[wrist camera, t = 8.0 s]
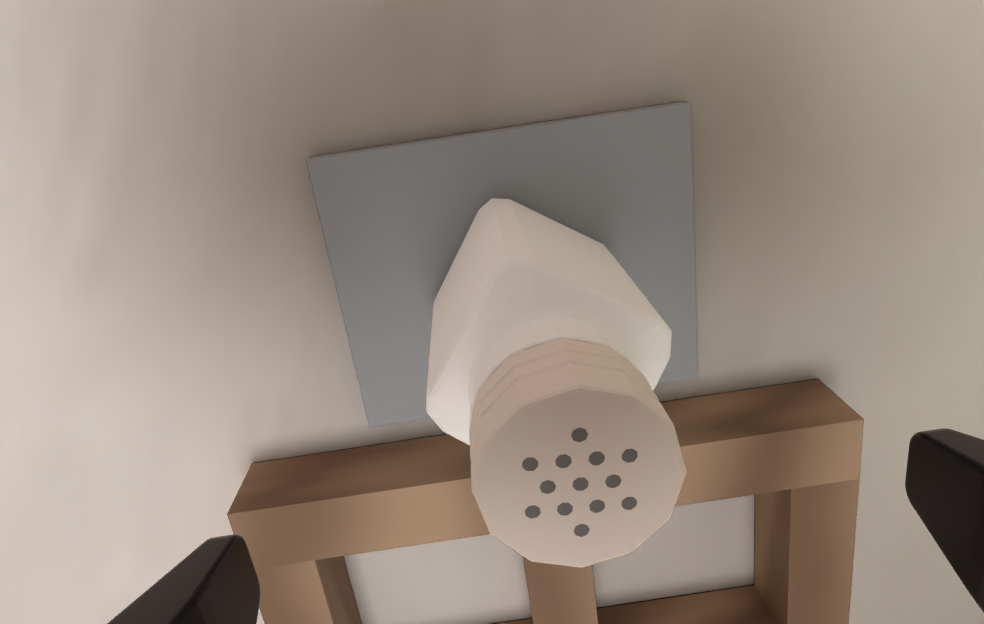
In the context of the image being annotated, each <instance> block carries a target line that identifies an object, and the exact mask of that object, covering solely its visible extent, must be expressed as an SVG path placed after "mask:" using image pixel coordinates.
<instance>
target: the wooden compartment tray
mask: <svg viewBox="0 0 984 624" xmlns="http://www.w3.org/2000/svg"><path fill="white" fill-rule="evenodd" d="M661 404H662V406H663V408H664V410H665V411H666V413H667V415H668V416H669V418H670V420H671V421H672V423H673V425H674V427H675V431H676V434H677V438H678V442H679V445H680V449H681V452H682V456H683V460H684V463H685V467H686V471H687V472H686V475H685V478H684V481H683V484H682V487H681V490H680V493H679V495H678V498H677V501H676V504H675V506H681V505H687V504H694V503H701V502H707V501H714V500H721V499H727V498H734V497H741V496H748V495H754V494H755V548H754V585H752V586H745V587H738V588H732V589H725V590H718V591H712V592H705V593H698V594H692V595H685V596H678V597H672V598H665V599H658V600H651V601H645V602H638V603H631V604H625V605H618V606H611V607H605V608H598V609H596V599H595V590H594V581H593V571H592V565H589V566H586V567H583V568H580V567H572V566H564V565H555V564H547V563H539V562H531V561H530V560H528V559H527V558H525V557H524V556H523V560H524V566H525V573H526V579H527V586H528V592H529V599H530V605H531V612H532V618H531V619H524V620H518V621H511V622H504V623H498V624H849V611H850V598H851V584H852V571H853V557H854V544H855V530H856V517H857V504H858V490H859V477H860V463H861V450H862V436H863V423H864V419H863V418H862V417H861V416H859V415H858V414H857V413H856V412H855V411H854V410H853V409H852V408H850V407H849V406H848V405H847V404H846V403H845V402H844V401H843V400H841V399H840V398H839V397H838V396H837V395H836V394H835V393H834V392H833V391H831V390H830V389H829V388H828V387H827V386H826V385H825V384H824V383H822V382H821V381H820V380H819V379H815V380H808V381H801V382H794V383H788V384H781V385H774V386H768V387H761V388H754V389H748V390H741V391H734V392H728V393H721V394H714V395H707V396H701V397H694V398H687V399H681V400H674V401H667V402H661ZM227 516H228V519H229V521H230V524H231V527H232V530H233V533H234V534H237V535H240V536H242V537H243V539H244V540H245V542H246V544H247V547H248V550H249V553H250V556H251V559H252V562H253V565H254V568H255V571H256V574H257V577H258V580H259V584H260V604H259V608H260V611H261V614H262V617H263V620H264V623H265V624H362V623H361V619H360V615H359V612H358V608H357V605H356V601H355V597H354V594H353V590H352V586H351V583H350V579H349V576H348V572H347V568H346V565H345V561H344V557H343V556H346V555H353V554H359V553H366V552H373V551H379V550H386V549H393V548H400V547H406V546H413V545H420V544H426V543H433V542H440V541H446V540H453V539H460V538H466V537H473V536H480V535H487V534H490V532H489V530H488V528H487V525H486V523H485V521H484V518H483V516H482V514H481V511H480V509H479V507H478V504H477V502H476V499H475V497H474V495H473V492H472V488H471V460H470V445H468V444H466V443H464V442H462V441H460V440H458V439H456V438H454V437H453V436H451V435H449V434H446V435H439V436H433V437H426V438H419V439H413V440H406V441H399V442H393V443H386V444H379V445H373V446H366V447H359V448H352V449H346V450H339V451H332V452H326V453H319V454H312V455H306V456H299V457H292V458H285V459H279V460H272V461H265V462H259V463H252V464H251V467H250V469H249V471H248V473H247V475H246V477H245V479H244V481H243V483H242V485H241V487H240V489H239V491H238V493H237V495H236V497H235V499H234V501H233V503H232V505H231V507H230V509H229V512H228V514H227Z"/></svg>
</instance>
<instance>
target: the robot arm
mask: <svg viewBox="0 0 984 624" xmlns="http://www.w3.org/2000/svg"><path fill="white" fill-rule="evenodd" d="M905 486H906V492H907V496H908V498H909V500H910V502H911V504H912V506H913V507H914V509H915V510H916V512H917V513H918V515H919V516H920V518H921V519H922V521H923V523H924V524H925V526H926V527H927V529H928V530H929V532H930V533H931V535H932V536H933V538H934V539H935V541H936V542H937V544H938V546H939V547H940V549H941V550H942V552H943V553H944V555H945V556H946V558H947V559H948V561H949V562H950V564H951V565H952V567H953V569H954V570H955V572H956V573H957V575H958V576H959V578H960V579H961V581H962V582H963V584H964V585H965V587H966V588H967V590H968V591H969V593H970V594H971V595H972V597H973V598H974V600H975V601H976V603H977V604H978V605H979V607H980V608H981V609H982V611H983V612H984V440H982V439H979V438H976V437H973V436H970V435H967V434H964V433H960V432H957V431H954V430H951V429H936V430H929V431H923V432H918V433H916V434H915V435H913V436H912V438H911V440H910V445H909V454H908V463H907V472H906V481H905ZM259 604H260V584H259V580H258V577H257V574H256V571H255V568H254V565H253V562H252V559H251V556H250V553H249V550H248V547H247V544H246V542H245V540H244V539H243V537H242V536H240V535H237V534H234V535H228V536H221V537H214V538H210V539H208V540H207V541H205V542H204V543H203V544H202V545H200V546H199V547H198V548H197V549H196V550H195V551H193V552H192V553H191V554H190V555H189V556H187V557H186V558H185V559H184V560H183V561H181V562H180V563H179V564H178V565H177V566H175V567H174V568H173V569H172V570H171V571H170V572H168V573H167V574H166V575H165V576H164V577H162V578H161V579H160V580H159V581H158V582H156V583H155V584H154V585H153V586H152V587H150V588H149V589H148V590H147V591H146V592H145V593H143V594H142V595H141V596H140V597H139V598H137V599H136V600H135V601H134V602H133V603H131V604H130V605H129V606H128V607H127V608H125V609H124V610H123V611H122V612H121V613H120V614H118V615H117V616H116V617H115V618H114V619H112V620H111V621H110V622H109V623H108V624H256V622H257V616H258V610H259Z"/></svg>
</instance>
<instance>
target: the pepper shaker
mask: <svg viewBox="0 0 984 624" xmlns="http://www.w3.org/2000/svg"><path fill="white" fill-rule="evenodd" d="M671 337H672V330H671V329H670V328H669V326H668V325H667V324H666V323H665V321H664V320H663V319H662V318H661V316H660V315H659V314H658V312H657V311H656V310H655V309H654V307H653V306H652V305H651V304H650V302H649V301H648V300H647V298H646V297H645V296H644V295H643V293H642V292H641V291H640V290H639V288H638V287H637V286H636V284H635V283H634V282H633V281H632V279H631V278H630V277H629V276H628V274H627V273H626V272H625V270H624V269H623V268H622V267H621V265H620V264H619V263H618V262H617V260H616V259H615V258H614V256H613V255H612V254H611V253H610V252H609V251H608V249H607V248H606V247H605V246H604V245H603V244H602V243H600V242H597V241H595V240H593V239H591V238H589V237H587V236H585V235H583V234H581V233H579V232H577V231H575V230H573V229H571V228H568V227H566V226H564V225H562V224H560V223H558V222H556V221H554V220H552V219H550V218H548V217H546V216H544V215H542V214H539V213H537V212H535V211H533V210H531V209H529V208H527V207H525V206H523V205H521V204H519V203H517V202H515V201H512V200H510V199H498V198H492V199H490V200H489V201H488V202H487V203H486V204H485V205H484V206H482V207H481V208H480V209H479V210H478V212H477V214H476V216H475V218H474V220H473V222H472V224H471V226H470V228H469V231H468V233H467V235H466V237H465V239H464V241H463V243H462V245H461V247H460V249H459V251H458V253H457V255H456V257H455V259H454V261H453V263H452V265H451V267H450V269H449V271H448V273H447V276H446V278H445V280H444V282H443V284H442V286H441V288H440V290H439V292H438V294H437V296H436V298H435V300H434V303H433V316H432V329H431V342H430V355H429V367H428V380H427V393H426V412H427V413H428V415H429V416H430V417H431V418H432V419H433V421H434V422H435V423H436V424H437V425H438V426H439V428H440V429H441V430H442V431H443V432H445V433H447V434H449V435H451V436H453V437H454V438H456V439H458V440H460V441H462V442H464V443H466V444H468V445H470V460H471V488H472V492H473V495H474V497H475V499H476V502H477V504H478V507H479V509H480V511H481V514H482V516H483V518H484V521H485V523H486V525H487V528H488V530H489V532H490V534H491V535H493V536H494V537H496V538H497V539H499V540H500V541H502V542H503V543H505V544H506V545H507V546H509V547H510V548H512V549H513V550H515V551H516V552H518V553H519V554H521V555H522V556H524V557H525V558H527V559H528V560H530V561H531V562H539V563H547V564H555V565H564V566H572V567H580V568H583V567H586V566H589V565H593V564H596V563H599V562H602V561H606V560H609V559H612V558H615V557H619V556H622V555H625V554H629V553H632V552H633V551H634V550H636V549H637V548H638V547H639V546H640V545H641V544H642V543H643V542H645V541H646V540H647V539H648V538H649V537H650V536H651V535H652V534H654V533H655V532H656V531H657V530H658V529H659V528H660V527H661V526H663V525H664V524H665V523H666V522H667V521H668V520H669V519H670V518H671V515H672V512H673V510H674V507H675V504H676V501H677V498H678V495H679V493H680V490H681V487H682V484H683V481H684V478H685V475H686V472H687V471H686V467H685V463H684V460H683V456H682V452H681V449H680V445H679V442H678V438H677V434H676V431H675V427H674V425H673V423H672V421H671V420H670V418H669V416H668V415H667V413H666V411H665V410H664V408H663V406H662V404H661V403H660V402H659V399H658V398H657V396H656V394H655V393H654V389H655V387H656V385H657V383H658V381H659V379H660V377H661V375H662V373H663V371H664V369H665V367H666V365H667V363H668V361H669V359H670V352H671Z"/></svg>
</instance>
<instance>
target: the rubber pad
mask: <svg viewBox="0 0 984 624" xmlns="http://www.w3.org/2000/svg"><path fill="white" fill-rule="evenodd" d="M306 163H307V167H308V171H309V175H310V180H311V184H312V188H313V192H314V196H315V201H316V205H317V209H318V213H319V217H320V222H321V226H322V230H323V234H324V239H325V243H326V247H327V251H328V255H329V260H330V264H331V268H332V272H333V277H334V281H335V285H336V289H337V293H338V298H339V302H340V306H341V310H342V315H343V319H344V323H345V327H346V331H347V336H348V340H349V344H350V348H351V352H352V357H353V361H354V365H355V369H356V374H357V378H358V382H359V386H360V390H361V395H362V399H363V403H364V407H365V412H366V416H367V420H368V424H369V427H374V426H381V425H388V424H395V423H401V422H408V421H415V420H421V419H428V418H431V417H430V416H429V415H428V413H427V412H426V393H427V380H428V367H429V355H430V342H431V329H432V316H433V303H434V300H435V298H436V296H437V294H438V292H439V290H440V288H441V286H442V284H443V282H444V280H445V278H446V276H447V273H448V271H449V269H450V267H451V265H452V263H453V261H454V259H455V257H456V255H457V253H458V251H459V249H460V247H461V245H462V243H463V241H464V239H465V237H466V235H467V233H468V231H469V228H470V226H471V224H472V222H473V220H474V218H475V216H476V214H477V212H478V210H479V209H480V208H481V207H482V206H484V205H485V204H486V203H487V202H488V201H489V200H490V199H492V198H498V199H510V200H512V201H515V202H517V203H519V204H521V205H523V206H525V207H527V208H529V209H531V210H533V211H535V212H537V213H539V214H542V215H544V216H546V217H548V218H550V219H552V220H554V221H556V222H558V223H560V224H562V225H564V226H566V227H568V228H571V229H573V230H575V231H577V232H579V233H581V234H583V235H585V236H587V237H589V238H591V239H593V240H595V241H597V242H600V243H602V244H603V245H604V246H605V247H606V248H607V249H608V251H609V252H610V253H611V254H612V255H613V256H614V258H615V259H616V260H617V262H618V263H619V264H620V265H621V267H622V268H623V269H624V270H625V272H626V273H627V274H628V276H629V277H630V278H631V279H632V281H633V282H634V283H635V284H636V286H637V287H638V288H639V290H640V291H641V292H642V293H643V295H644V296H645V297H646V298H647V300H648V301H649V302H650V304H651V305H652V306H653V307H654V309H655V310H656V311H657V312H658V314H659V315H660V316H661V318H662V319H663V320H664V321H665V323H666V324H667V325H668V326H669V328H670V329H671V330H672V337H671V352H670V359H669V361H668V363H667V365H666V367H665V369H664V371H663V373H662V375H661V377H660V379H659V381H658V383H657V384H663V383H669V382H676V381H683V380H689V379H696V378H698V350H697V315H696V280H695V245H694V210H693V175H692V140H691V105H690V103H689V102H684V101H681V102H674V103H668V104H661V105H654V106H648V107H641V108H634V109H627V110H621V111H614V112H607V113H601V114H594V115H587V116H580V117H574V118H567V119H560V120H554V121H547V122H540V123H533V124H527V125H520V126H513V127H507V128H500V129H493V130H486V131H480V132H473V133H466V134H460V135H453V136H446V137H439V138H433V139H426V140H419V141H413V142H406V143H399V144H392V145H386V146H379V147H372V148H366V149H359V150H352V151H345V152H339V153H332V154H325V155H319V156H312V157H309V158H308V159H307V160H306Z"/></svg>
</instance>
